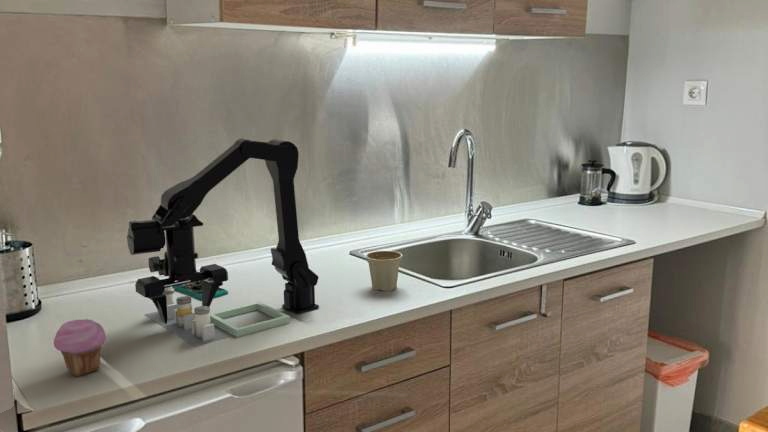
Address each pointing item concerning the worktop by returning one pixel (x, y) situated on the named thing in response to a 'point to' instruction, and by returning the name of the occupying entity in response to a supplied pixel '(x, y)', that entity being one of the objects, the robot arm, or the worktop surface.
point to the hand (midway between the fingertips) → (185, 318)
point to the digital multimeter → (197, 290)
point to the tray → (279, 320)
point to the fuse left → (169, 295)
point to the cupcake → (80, 345)
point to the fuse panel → (187, 327)
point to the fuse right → (201, 319)
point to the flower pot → (384, 269)
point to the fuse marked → (183, 309)
